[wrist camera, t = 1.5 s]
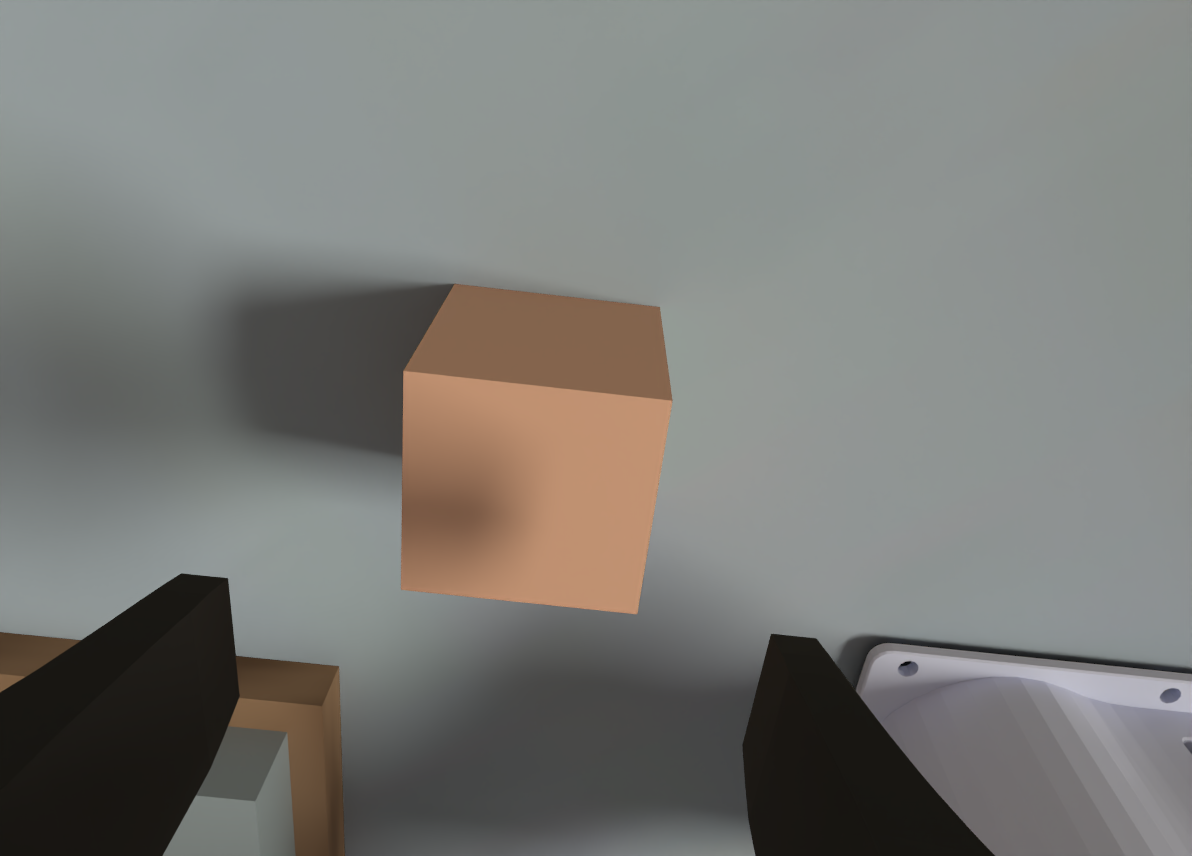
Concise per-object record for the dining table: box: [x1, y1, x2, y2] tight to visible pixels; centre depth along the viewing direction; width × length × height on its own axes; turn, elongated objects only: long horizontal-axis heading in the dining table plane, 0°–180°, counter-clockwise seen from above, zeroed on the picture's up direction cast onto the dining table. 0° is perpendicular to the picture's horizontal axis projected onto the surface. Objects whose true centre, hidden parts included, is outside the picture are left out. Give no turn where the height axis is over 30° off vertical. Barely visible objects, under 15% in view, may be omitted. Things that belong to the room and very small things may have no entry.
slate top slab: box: [163, 726, 296, 856], centre depth 23 cm, size 8×8×2 cm
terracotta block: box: [401, 284, 672, 614], centre depth 17 cm, size 4×4×5 cm
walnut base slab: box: [0, 632, 345, 856], centre depth 25 cm, size 10×10×2 cm
